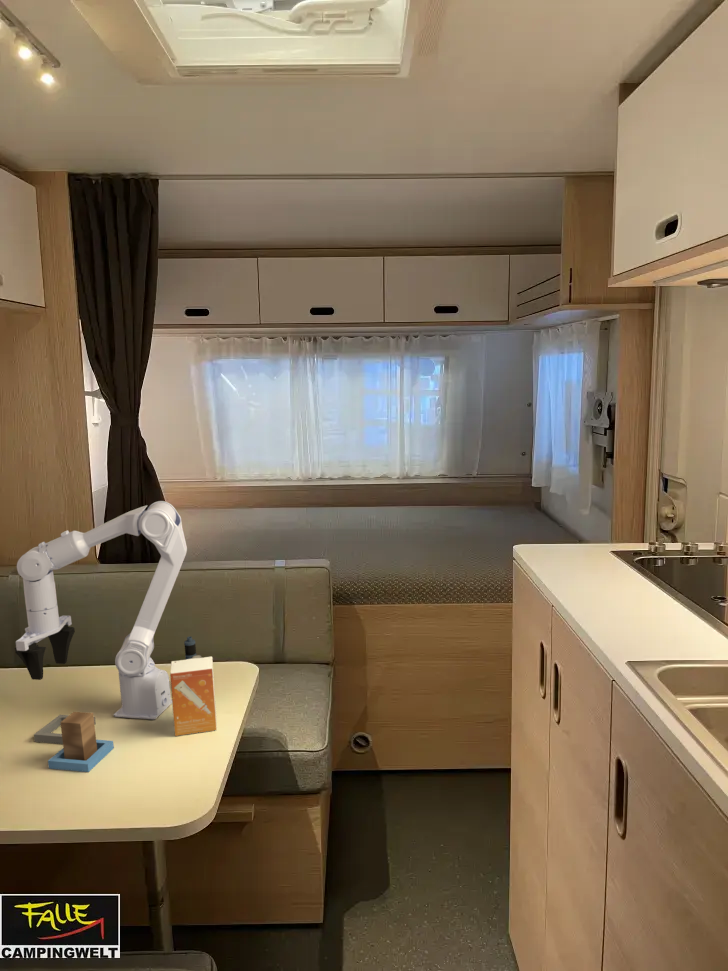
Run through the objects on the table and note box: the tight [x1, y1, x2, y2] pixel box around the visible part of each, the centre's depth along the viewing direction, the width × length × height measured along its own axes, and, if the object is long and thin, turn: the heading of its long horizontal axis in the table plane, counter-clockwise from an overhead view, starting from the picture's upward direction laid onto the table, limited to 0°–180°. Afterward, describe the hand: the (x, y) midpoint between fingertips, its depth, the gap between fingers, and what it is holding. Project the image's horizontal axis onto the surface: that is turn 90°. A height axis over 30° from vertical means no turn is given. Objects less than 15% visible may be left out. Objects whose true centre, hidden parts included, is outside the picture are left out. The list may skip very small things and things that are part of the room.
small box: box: [169, 656, 218, 737], centre depth 137 cm, size 8×6×13 cm
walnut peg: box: [60, 711, 97, 761], centre depth 127 cm, size 4×4×8 cm
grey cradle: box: [33, 714, 96, 745], centre depth 137 cm, size 8×8×2 cm
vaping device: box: [184, 636, 203, 660], centre depth 153 cm, size 3×5×12 cm, turn 45°
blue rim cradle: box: [47, 739, 115, 773], centre depth 128 cm, size 8×8×2 cm
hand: (49, 670), depth 142 cm, fingers open, 7 cm apart
